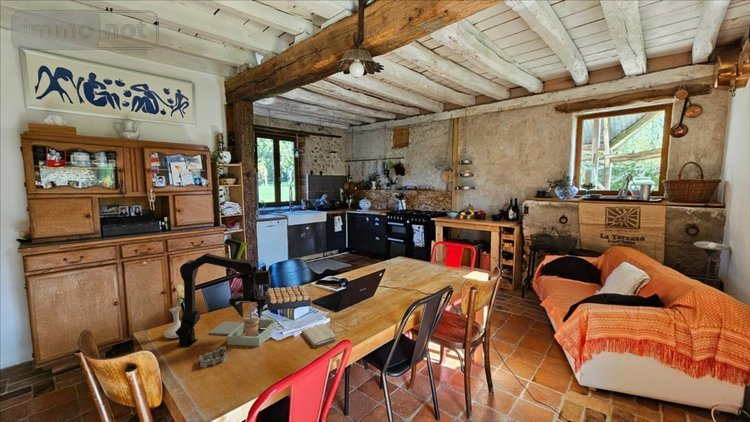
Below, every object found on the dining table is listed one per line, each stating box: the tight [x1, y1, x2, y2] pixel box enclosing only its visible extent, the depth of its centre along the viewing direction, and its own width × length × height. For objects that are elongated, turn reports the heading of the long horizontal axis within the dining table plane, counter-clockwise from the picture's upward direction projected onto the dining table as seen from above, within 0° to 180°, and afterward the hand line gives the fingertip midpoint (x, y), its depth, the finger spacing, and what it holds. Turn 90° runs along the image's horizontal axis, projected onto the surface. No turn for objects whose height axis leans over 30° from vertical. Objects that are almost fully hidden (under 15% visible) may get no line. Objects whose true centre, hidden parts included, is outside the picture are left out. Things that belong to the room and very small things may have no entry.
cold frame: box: [226, 317, 276, 347], centre depth 155 cm, size 16×16×6 cm
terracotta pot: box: [243, 317, 260, 337], centre depth 155 cm, size 7×7×8 cm
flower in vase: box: [163, 284, 184, 339], centre depth 158 cm, size 13×11×25 cm
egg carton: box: [198, 346, 228, 369], centre depth 135 cm, size 11×8×4 cm
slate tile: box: [209, 321, 244, 336], centre depth 163 cm, size 12×12×1 cm
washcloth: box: [301, 323, 337, 349], centre depth 153 cm, size 12×18×3 cm, turn 34°
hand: (250, 317), depth 154 cm, fingers open, 9 cm apart
